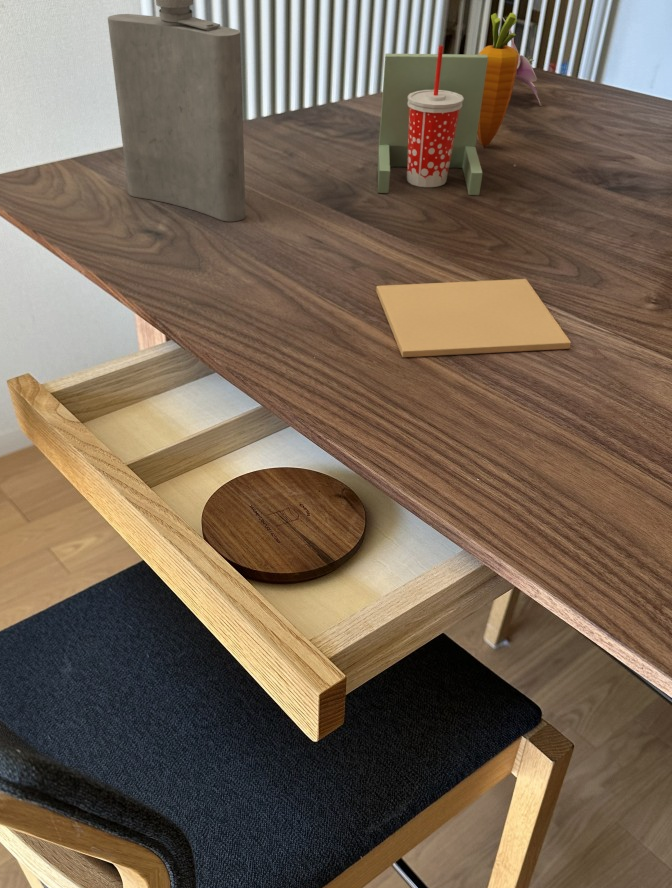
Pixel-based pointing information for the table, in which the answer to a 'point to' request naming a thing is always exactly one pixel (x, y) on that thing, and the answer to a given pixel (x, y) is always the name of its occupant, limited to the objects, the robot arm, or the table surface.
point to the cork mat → (469, 318)
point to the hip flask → (181, 109)
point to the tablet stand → (420, 74)
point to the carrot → (497, 79)
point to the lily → (525, 70)
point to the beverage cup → (431, 132)
